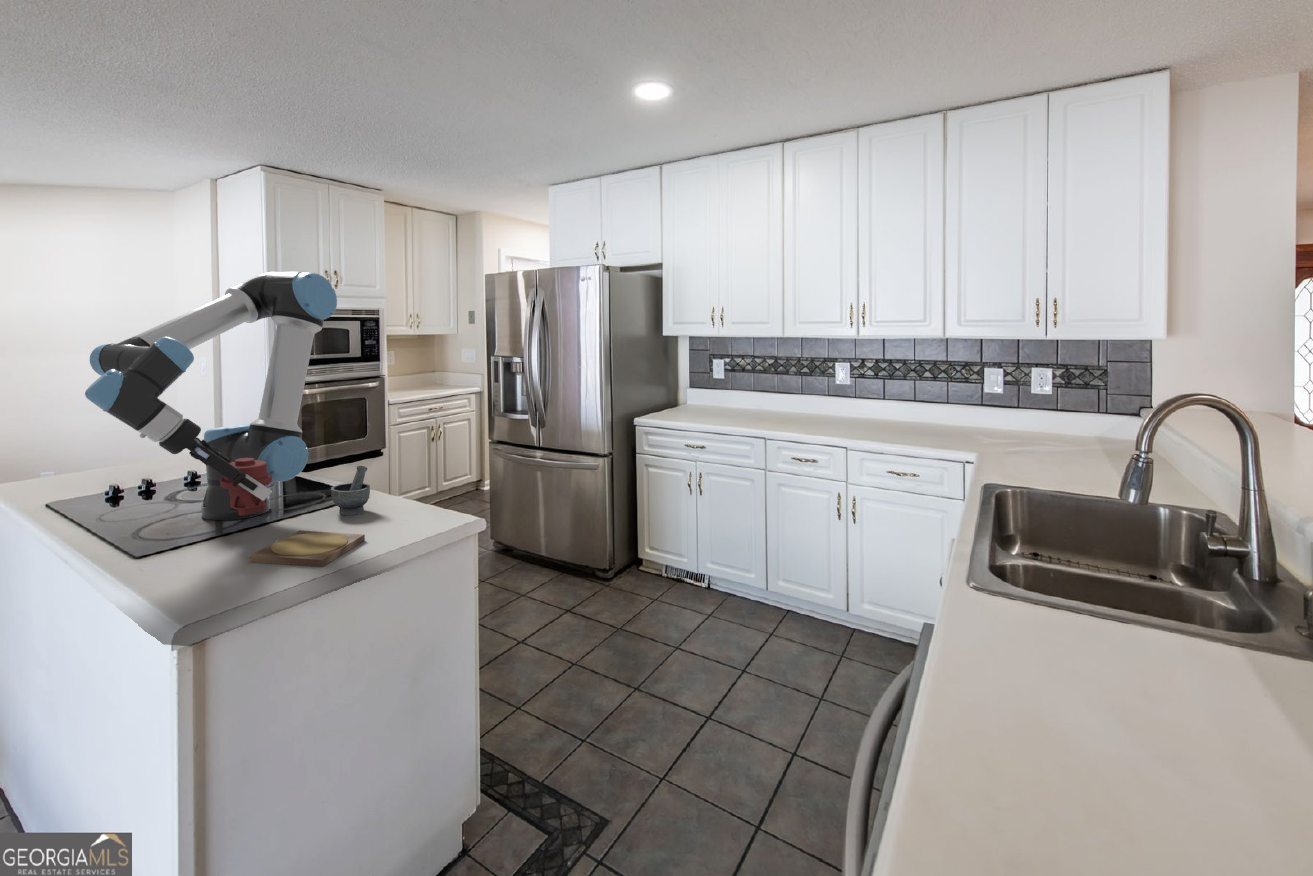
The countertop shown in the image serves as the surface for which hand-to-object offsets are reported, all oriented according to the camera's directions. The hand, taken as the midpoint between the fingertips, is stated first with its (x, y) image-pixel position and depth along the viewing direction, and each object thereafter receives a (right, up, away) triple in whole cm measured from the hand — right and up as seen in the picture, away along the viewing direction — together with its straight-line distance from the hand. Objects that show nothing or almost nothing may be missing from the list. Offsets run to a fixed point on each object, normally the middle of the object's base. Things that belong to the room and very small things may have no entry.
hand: (262, 490), depth 148 cm
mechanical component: (-2, -5, -1) cm, 6 cm away
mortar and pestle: (+9, -8, +25) cm, 28 cm away
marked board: (+14, -13, -5) cm, 20 cm away
